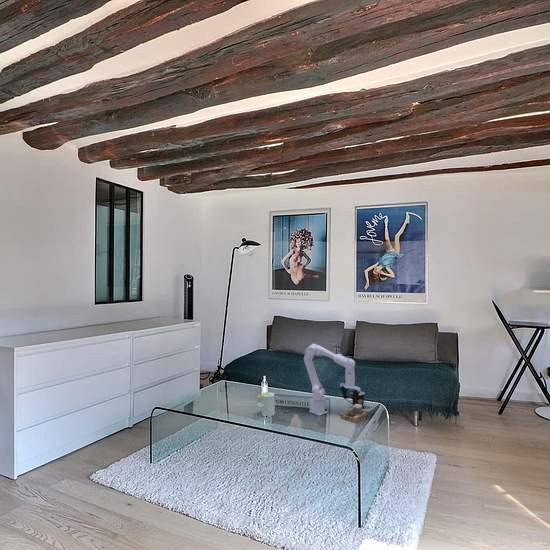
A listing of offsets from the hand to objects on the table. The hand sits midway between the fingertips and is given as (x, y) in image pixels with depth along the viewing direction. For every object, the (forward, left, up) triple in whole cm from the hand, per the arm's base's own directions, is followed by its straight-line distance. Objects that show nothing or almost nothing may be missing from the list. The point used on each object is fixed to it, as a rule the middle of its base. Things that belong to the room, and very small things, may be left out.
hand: (350, 400), depth 262 cm
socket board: (+3, 0, -10) cm, 11 cm away
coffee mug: (-7, +14, -10) cm, 19 cm away
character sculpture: (-40, -36, -10) cm, 54 cm away
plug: (+3, +3, -10) cm, 11 cm away
